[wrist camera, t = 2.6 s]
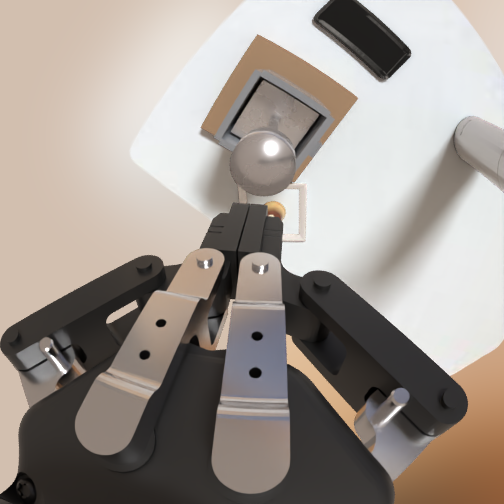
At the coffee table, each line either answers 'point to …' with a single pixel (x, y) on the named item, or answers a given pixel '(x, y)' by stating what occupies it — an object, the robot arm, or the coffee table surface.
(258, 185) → the plunger
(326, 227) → the coffee table surface
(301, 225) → the dessert
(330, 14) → the phone
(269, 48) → the grey square holder
